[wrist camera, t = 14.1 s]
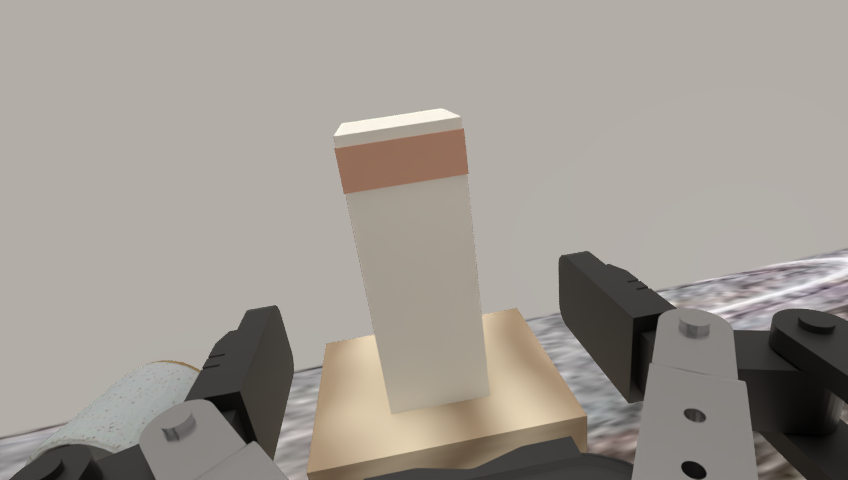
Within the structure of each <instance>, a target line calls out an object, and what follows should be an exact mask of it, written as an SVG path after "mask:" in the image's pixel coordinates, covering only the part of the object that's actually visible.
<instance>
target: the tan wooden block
mask: <svg viewBox="0 0 848 480" xmlns="http://www.w3.org/2000/svg"><path fill="white" fill-rule="evenodd" d="M482 322H483V332H484V342H485V351H486V361H487V371H488V380H489V390H490V396H486V397H481V398H475V399H470V400H465V401H460V402H454V403H449V404H444V405H439V406H433V407H428V408H423V409H418V410H413V411H407V412H402V413H397V414H392V415H391V410H390V406H389V401H388V396H387V391H386V387H385V382H384V377H383V372H382V367H381V363H380V358H379V353H378V348H377V343H376V339H375V335H370V336H365V337H360V338H354V339H349V340H343V341H338V342H333V343H327V344H326V349H325V356H324V362H323V369H322V376H321V382H320V389H319V395H318V402H317V409H316V415H315V422H314V428H313V435H312V442H311V448H310V455H309V461H308V468H307V476H308V479H309V480H364V479H365V478H370V477H375V476H380V475H384V474H389V473H394V472H399V471H404V470H409V469H413V468H441V469H472V468H475V467H478V466H480V465H482V464H484V463H487V462H489V461H491V460H493V459H495V458H497V457H499V456H502V455H504V454H506V453H508V452H510V451H512V450H514V449H517V448H519V447H521V446H525V445H530V444H535V443H539V442H544V441H549V440H554V439H559V438H564V437H568V436H571V437H572V438H573V440H574V442H575V444H576V445H577V447H578V449H579V451H580V452H581V453H587V415H586V413H585V412H584V410H583V409H582V407H581V406H580V404H579V403H578V401H577V399H576V398H575V396H574V395H573V393H572V392H571V390H570V389H569V387H568V386H567V384H566V383H565V381H564V380H563V378H562V376H561V375H560V373H559V372H558V370H557V369H556V367H555V366H554V364H553V363H552V361H551V360H550V358H549V357H548V355H547V353H546V352H545V350H544V349H543V347H542V346H541V344H540V343H539V341H538V340H537V338H536V337H535V335H534V334H533V332H532V330H531V329H530V327H529V326H528V324H527V323H526V321H525V320H524V318H523V317H522V315H521V314H520V312H519V311H518V309H517V308H515V309H510V310H504V311H499V312H494V313H488V314H483V315H482Z"/></svg>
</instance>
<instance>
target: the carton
mask: <svg viewBox="0 0 848 480" xmlns="http://www.w3.org/2000/svg"><path fill="white" fill-rule="evenodd" d="M334 142H335V153H336V158H337V163H338V168H339V172H340V177H341V182H342V187H343V191H344V194H345V195H346V200H347V204H348V209H349V214H350V218H351V223H352V228H353V233H354V238H355V242H356V248H357V252H358V257H359V262H360V267H361V272H362V276H363V281H364V286H365V291H366V295H367V300H368V305H369V310H370V314H371V319H372V324H373V329H374V333H375V339H376V343H377V348H378V353H379V358H380V363H381V367H382V372H383V377H384V382H385V387H386V391H387V396H388V401H389V406H390V410H391V415H392V414H397V413H402V412H407V411H413V410H418V409H423V408H428V407H433V406H439V405H444V404H449V403H454V402H460V401H465V400H470V399H475V398H481V397H486V396H490V390H489V380H488V371H487V361H486V351H485V342H484V332H483V322H482V313H481V303H480V293H479V284H478V274H477V265H476V256H475V245H474V235H473V226H472V216H471V206H470V197H469V187H468V177H467V174H468V165H467V155H466V145H465V136H464V129H463V128H462V119H461V116H458V115H456V114H454V113H451V112H449V111H447V110H445V109H442V108H441V109H434V110H428V111H421V112H415V113H408V114H402V115H395V116H389V117H382V118H375V119H369V120H362V121H355V122H349V123H342V124H341V125H340V127H339V129H338V130H337V132H336V133H335V135H334Z"/></svg>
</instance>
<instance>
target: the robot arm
mask: <svg viewBox="0 0 848 480" xmlns="http://www.w3.org/2000/svg"><path fill="white" fill-rule="evenodd" d="M559 305H560V311H561V315H562V318H563V320H564V322H565V324H566V326H567V327H568V328H569V329H570V331H571V332H572V333H573V334H574V336H575V337H576V338H577V339H578V341H579V342H580V343H581V344H582V346H583V347H584V348H585V349H586V351H587V352H588V353H589V354H590V356H591V357H592V358H593V359H594V361H595V362H596V363H597V364H598V366H599V367H600V368H601V369H602V371H603V372H604V373H605V374H606V376H607V377H608V378H609V379H610V381H611V382H612V383H613V384H614V386H615V387H616V388H617V389H618V391H619V392H620V393H621V394H622V396H623V397H624V398H625V399H626V401H627V402H628V403H634V402H639V401H644V403H643V409H642V416H641V422H640V428H639V435H638V441H637V448H636V454H635V460H634V464H631V463H629V462H627V461H624V460H620V459H617V458H614V457H610V456H606V455H601V454H594V453H581V452H580V451H579V449H578V447H577V445H576V444H575V442H574V440H573V438H572V437H571V436H568V437H564V438H559V439H554V440H549V441H544V442H539V443H535V444H530V445H525V446H521V447H519V448H517V449H514V450H512V451H510V452H508V453H506V454H504V455H502V456H499V457H497V458H495V459H493V460H491V461H489V462H487V463H484V464H482V465H480V466H478V467H475V468H472V469H441V468H413V469H409V470H404V471H399V472H394V473H389V474H384V475H380V476H375V477H370V478H365V479H364V480H758V475H757V467H756V459H755V451H754V442H753V434H752V431H759V433H760V434H761V435H762V436H763V437H764V438H765V439H766V440H767V441H768V442H769V443H770V444H771V445H772V446H773V447H774V448H775V449H776V450H777V451H778V452H779V453H780V454H781V455H782V456H783V457H784V458H785V459H786V460H787V461H788V462H789V463H790V464H791V465H792V466H794V467H795V468H796V469H797V470H798V471H799V472H800V473H801V474H802V475H803V476H804V477H805V478H806V479H807V480H848V425H847V424H846V423H845V422H844V421H842V420H841V419H840V416H841V412H842V409H843V405H844V402H846V403H847V404H848V321H846V320H844V319H842V318H840V317H837V316H835V315H832V314H829V313H825V312H821V311H816V310H809V309H786V310H782V311H779V312H777V313H775V314H774V316H773V318H772V323H771V329H770V331H753V330H733V329H732V327H731V325H730V324H729V323H728V322H727V321H726V320H724V319H723V318H721V317H719V316H717V315H715V314H712V313H709V312H706V311H702V310H697V309H688V308H681V309H677V308H676V307H674V306H673V305H672V304H670V303H669V302H668V301H666V300H665V299H664V298H662V297H661V296H660V295H658V294H657V293H656V292H654V291H653V290H652V289H648V286H646V285H645V284H644V283H642V282H641V281H638V279H637V278H636V277H634V276H633V275H632V274H630V273H629V272H628V271H626V270H624V269H621V268H618V267H616V266H613V265H610V264H607V265H605V264H604V263H603V262H601V261H600V260H599V259H598V258H596V257H595V256H594V255H592V254H591V253H590V252H588V251H584V252H579V253H573V254H567V255H562V256H561V257H560V259H559ZM293 374H294V363H293V356H292V351H291V348H290V345H289V341H288V338H287V334H286V331H285V327H284V324H283V321H282V317H281V314H280V311H279V309H278V307H277V306H276V305H274V306H268V307H262V308H257V309H251V310H247V312H246V313H245V315H244V318H243V319H242V321H241V323H240V325H239V327H238V329H237V330H234V331H230V332H228V333H227V334H226V335H225V336H224V337H223V338H221V340H219V341H218V342H217V343H216V344H215V346H214V348H213V349H212V351H211V353H210V355H209V359H207V360H206V362H205V364H204V366H203V370H201V371H200V373H199V375H198V377H197V378H196V380H195V382H194V384H193V386H192V387H191V389H190V391H189V393H188V395H187V397H186V398H185V400H184V402H183V403H180V404H177V405H175V406H173V407H171V408H169V409H167V410H165V411H164V412H162V413H161V414H159V415H158V416H156V417H155V418H154V419H153V420H152V421H151V422H150V423H149V424H148V425H147V426H146V427H145V428H144V430H143V431H142V433H141V435H140V438H139V444H137V445H134V446H132V447H130V448H127V449H125V450H122V451H120V452H117V453H115V454H112V455H110V456H107V457H105V458H102V459H100V460H97V461H96V460H95V458H94V456H93V454H92V452H91V451H90V449H89V448H88V447H86V446H83V445H72V446H67V447H63V448H60V449H57V450H54V451H52V452H50V453H47V454H45V455H43V456H41V457H40V458H38V459H36V460H34V461H33V462H31V463H30V464H28V465H27V466H25V467H24V468H22V469H21V470H20V471H19V472H17V473H16V474H15V475H14V476H13V477H12V478H11V479H10V480H289V479H288V478H287V477H286V476H285V475H284V473H283V472H282V471H281V470H280V469H279V468H278V466H277V465H276V464H275V463H274V462H273V460H274V455H275V451H276V447H277V443H278V438H279V434H280V430H281V426H282V421H283V417H284V413H285V409H286V404H287V400H288V396H289V392H290V387H291V383H292V379H293Z"/></svg>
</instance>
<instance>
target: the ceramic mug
mask: <svg viewBox="0 0 848 480" xmlns="http://www.w3.org/2000/svg"><path fill="white" fill-rule="evenodd" d="M199 373H200V370H199V369H197V368H195V367H193V366H190V365H188V364H185V363H183V362H177V361H157V362H152V363H149V364H146V365H144V366H142V367H140V368H138V369H136V370H134V371H132V372H131V373H129V374H127V375H126V376H124V377H123V378H122V379H120V380H119V381H118V382H116V383H115V384H114V385H113V386H111V387H110V389H108V390H107V391H106V392H105V393H104V394H103V395H102V396H100V397H99V398H98V399H97V400H95V401H94V402H93V403H92V404H90V405H89V406H88V407H87V408H85V409H84V410H83V411H82V412H81V413H79V414H78V415H77V416H76V417H75V418H73V419H72V420H71V421H70V422H69V423H67V424H66V425H65V426H64V427H62V428H61V429H60V430H58V431H57V432H56V433H55V434H54V435H52V436H51V437H50V438H49V439H47V440H46V441H45V442H44V443H43V444H41V445H40V446H39V447H38V448H37V449H36V450H35V451H34V452H33V453H32V455H31V456H30V458H29V459H28V461H27V463H26V465H25V466H27V465H28V464H30V463H31V462H33V461H34V460H36V459H38V458H40V457H41V456H43V455H45V454H47V453H50V452H52V451H54V450H57V449H60V448H63V447H67V446H72V445H83V446H86V447H88V448H89V449H90V451H91V452H92V454H93V456H94V458H95V460H96V461H97V460H100V459H102V458H105V457H107V456H110V455H112V454H115V453H117V452H120V451H122V450H125V449H127V448H130V447H132V446H134V445H137V444H139V438H140V435H141V433H142V431H143V430H144V428H145V427H146V426H147V425H148V424H149V423H150V422H151V421H152V420H153V419H154V418H155V417H156V416H158V415H159V414H161V413H162V412H164V411H165V410H167V409H169V408H171V407H173V406H175V405H177V404H180V403H183V402H184V400H185V398H186V397H187V395H188V393H189V391H190V389H191V387H192V386H193V384H194V382H195V380H196V378H197V377H198V375H199Z"/></svg>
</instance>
